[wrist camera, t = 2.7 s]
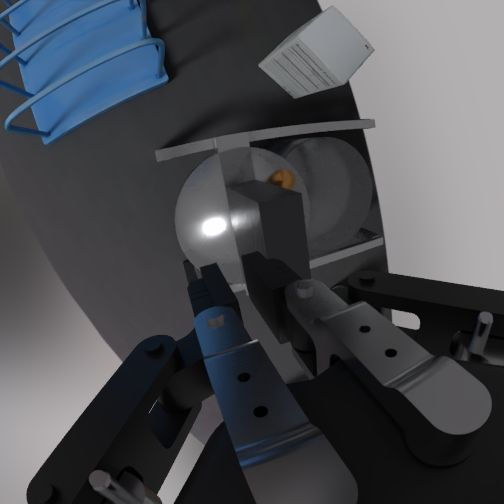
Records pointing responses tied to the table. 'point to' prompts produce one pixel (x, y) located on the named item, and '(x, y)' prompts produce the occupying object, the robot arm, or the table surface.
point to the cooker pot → (316, 186)
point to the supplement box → (318, 55)
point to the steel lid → (243, 210)
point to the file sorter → (79, 60)
